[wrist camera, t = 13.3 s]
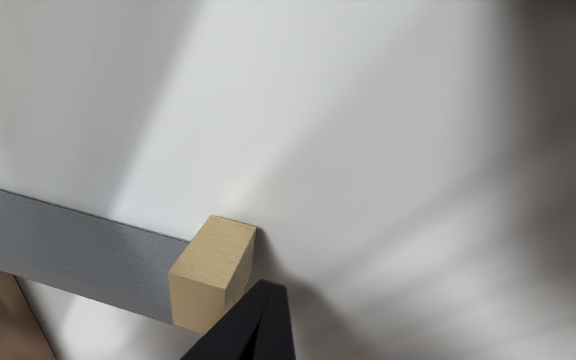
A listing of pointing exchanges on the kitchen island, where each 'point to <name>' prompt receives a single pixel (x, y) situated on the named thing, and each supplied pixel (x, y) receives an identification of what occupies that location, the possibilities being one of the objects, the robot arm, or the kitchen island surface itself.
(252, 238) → the gray metal bar
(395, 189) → the kitchen island surface
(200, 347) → the robot arm
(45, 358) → the brown wooden tray
